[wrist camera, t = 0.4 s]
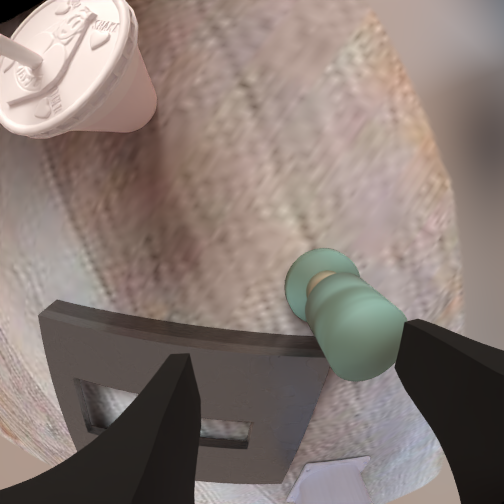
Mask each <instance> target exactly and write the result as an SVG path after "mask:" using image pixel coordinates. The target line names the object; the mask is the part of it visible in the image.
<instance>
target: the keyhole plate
mask: <svg viewBox="0 0 504 504" xmlns="http://www.w3.org/2000/svg"><path fill="white" fill-rule="evenodd" d="M38 317H39V323H40V329H41V334H42V340H43V345H44V349H45V354H46V358H47V362H48V366H49V370H50V374H51V378H52V382H53V385H54V389H55V392H56V395H57V398H58V402H59V405H60V408H61V411H62V414H63V416H64V419H65V422H66V425H67V427H68V430H69V433H70V435H71V438H72V440H73V443H74V445H75V447H76V450H77V452H78V451H80V450H81V449H82V448H84V447H85V446H86V445H88V444H89V443H91V442H92V441H93V440H94V439H96V438H97V437H98V436H99V435H100V434H101V433H102V432H104V431H105V430H106V429H103V428H100V427H96V426H93V425H91V422H90V419H89V415H88V411H87V408H86V404H85V400H84V396H83V392H82V387H81V383H80V379H81V380H85V381H88V382H92V383H95V384H99V385H103V386H107V387H111V388H115V389H119V390H124V391H128V392H133V393H138V394H140V392H141V391H142V390H143V389H144V387H145V386H146V385H147V384H148V383H149V381H150V380H151V379H152V377H153V376H154V375H155V373H156V372H157V371H158V369H159V368H160V367H161V365H162V364H163V363H164V361H165V360H166V359H167V358H168V356H169V355H170V354H181V353H190V357H191V361H192V366H193V370H194V374H195V378H196V382H197V386H198V390H199V394H200V398H201V418H207V419H217V420H229V421H244V422H251V424H250V428H249V432H248V436H247V441H241V440H225V439H213V438H203V437H200V439H199V448H198V456H197V465H196V475H195V481H205V482H216V483H233V484H282V482H283V480H284V477H285V475H286V473H287V471H288V469H289V467H290V465H291V463H292V461H293V458H294V456H295V454H296V452H297V450H298V447H299V445H300V443H301V440H302V438H303V436H304V433H305V431H306V429H307V426H308V424H309V421H310V419H311V416H312V414H313V411H314V409H315V406H316V404H317V401H318V398H319V396H320V393H321V390H322V388H323V385H324V382H325V379H326V376H327V374H328V371H329V368H330V364H329V362H328V360H327V358H326V357H325V355H324V353H323V351H322V349H321V347H320V345H319V343H318V341H317V339H316V337H313V336H296V335H281V334H269V333H257V332H247V331H237V330H227V329H219V328H210V327H202V326H195V325H187V324H180V323H174V322H167V321H161V320H154V319H148V318H142V317H137V316H131V315H126V314H120V313H115V312H110V311H105V310H100V309H95V308H90V307H86V306H81V305H77V304H72V303H68V302H64V301H60V300H56V301H55V302H53V303H52V304H51V305H50V306H48V307H47V308H46V309H45V310H44V311H42V312H41V313H40V314H39V315H38Z"/></svg>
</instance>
